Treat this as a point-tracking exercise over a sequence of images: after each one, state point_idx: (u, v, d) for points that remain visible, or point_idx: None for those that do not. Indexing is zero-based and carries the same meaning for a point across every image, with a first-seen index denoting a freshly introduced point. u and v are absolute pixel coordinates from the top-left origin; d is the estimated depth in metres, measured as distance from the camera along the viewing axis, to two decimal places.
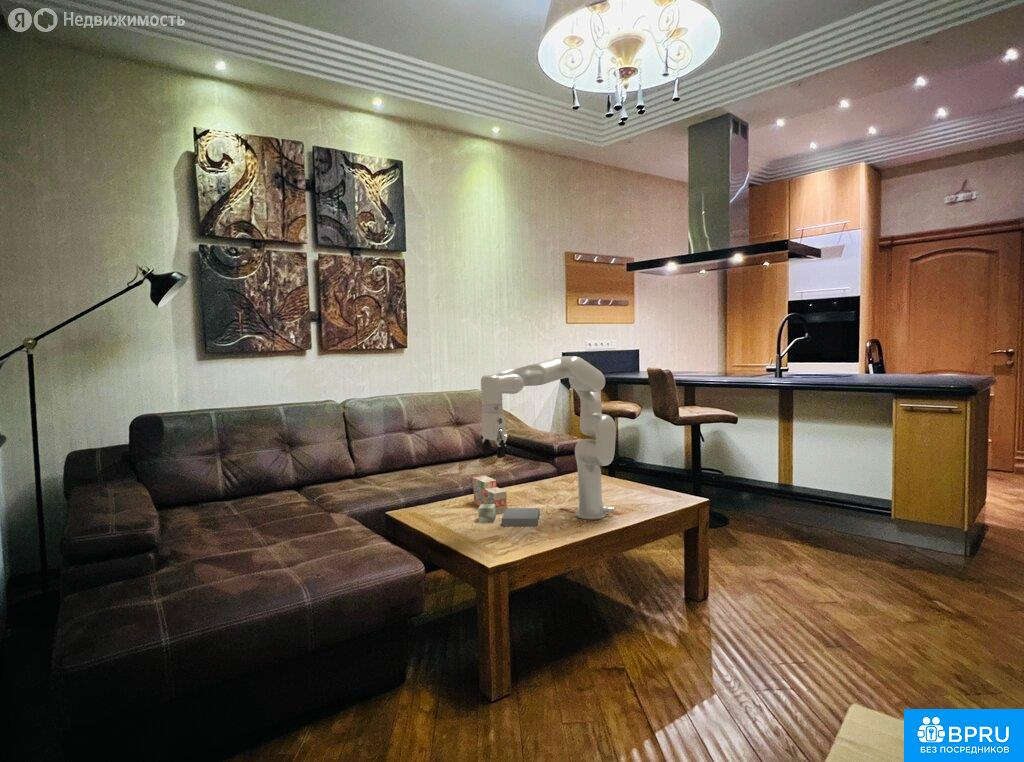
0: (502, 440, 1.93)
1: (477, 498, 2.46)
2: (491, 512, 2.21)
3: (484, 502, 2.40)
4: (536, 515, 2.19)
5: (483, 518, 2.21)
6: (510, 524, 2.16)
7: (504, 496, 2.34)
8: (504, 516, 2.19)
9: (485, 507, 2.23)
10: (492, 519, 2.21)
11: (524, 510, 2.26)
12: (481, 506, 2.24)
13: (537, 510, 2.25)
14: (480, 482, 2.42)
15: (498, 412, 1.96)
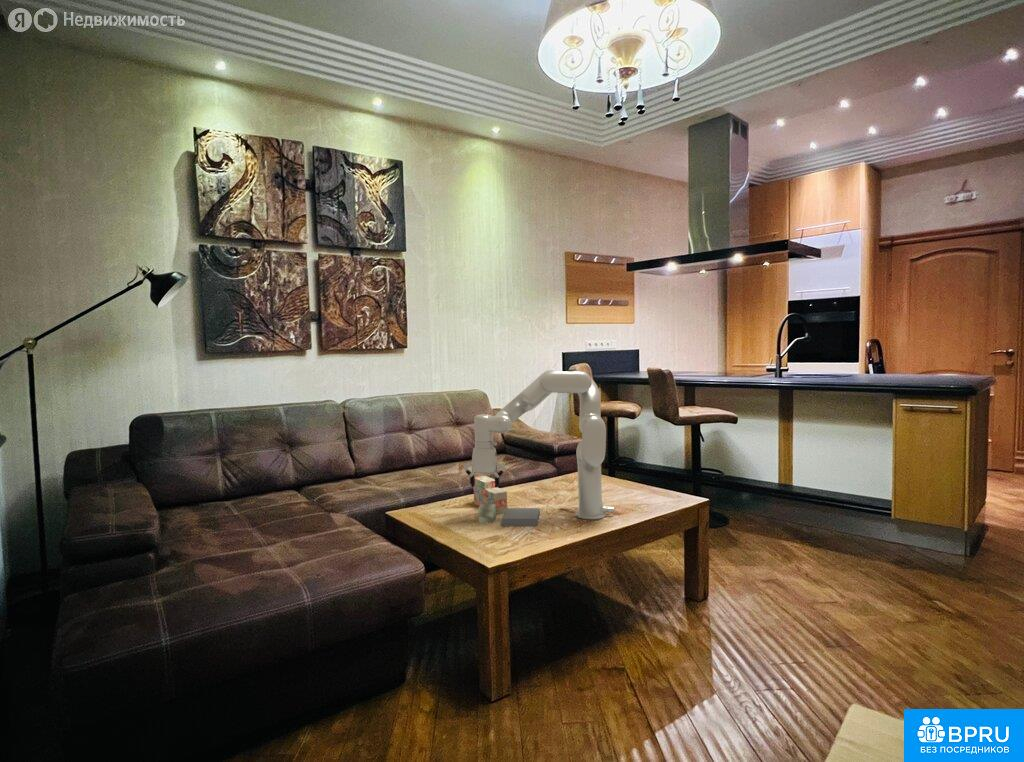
0: (502, 471, 2.21)
1: (477, 498, 2.46)
2: (491, 512, 2.21)
3: (484, 502, 2.40)
4: (536, 515, 2.19)
5: (483, 518, 2.21)
6: (510, 524, 2.16)
7: (504, 496, 2.33)
8: (504, 516, 2.19)
9: (485, 507, 2.23)
10: (492, 519, 2.21)
11: (524, 510, 2.26)
12: (481, 506, 2.24)
13: (537, 510, 2.25)
14: (480, 482, 2.42)
15: (493, 447, 2.22)
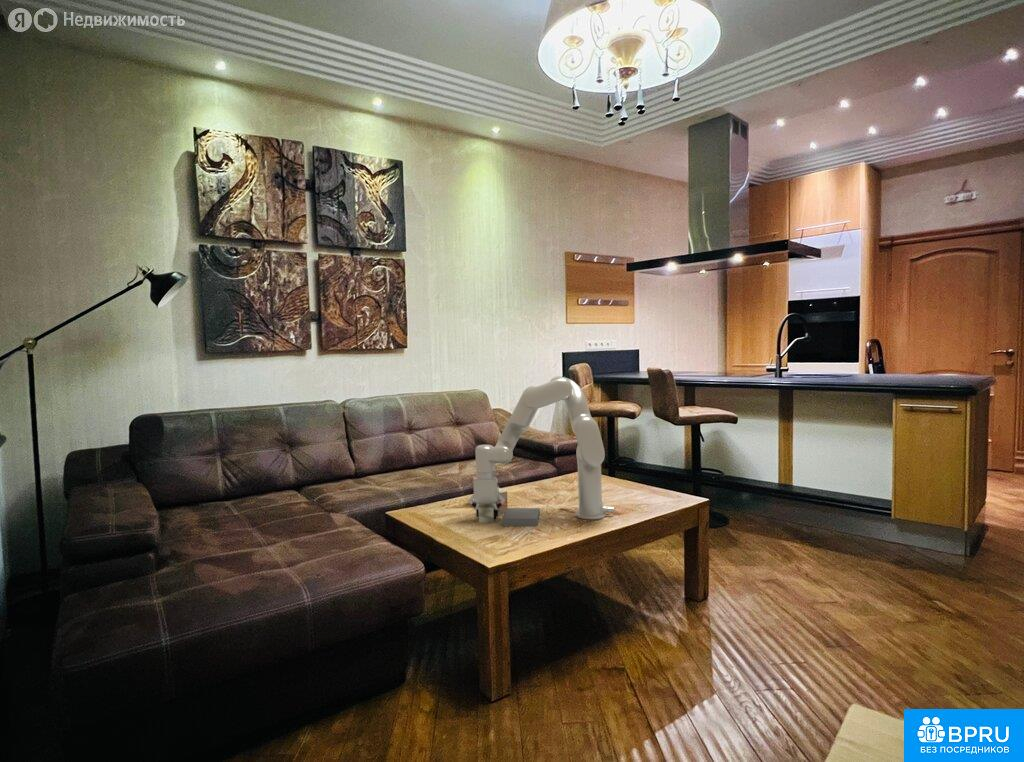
0: (500, 503, 2.22)
1: None
2: (491, 512, 2.21)
3: None
4: (536, 515, 2.19)
5: (483, 518, 2.21)
6: (510, 524, 2.16)
7: (505, 496, 2.33)
8: (504, 516, 2.19)
9: (485, 507, 2.23)
10: (492, 519, 2.21)
11: (524, 510, 2.26)
12: (481, 506, 2.24)
13: (537, 510, 2.25)
14: None
15: (494, 477, 2.23)
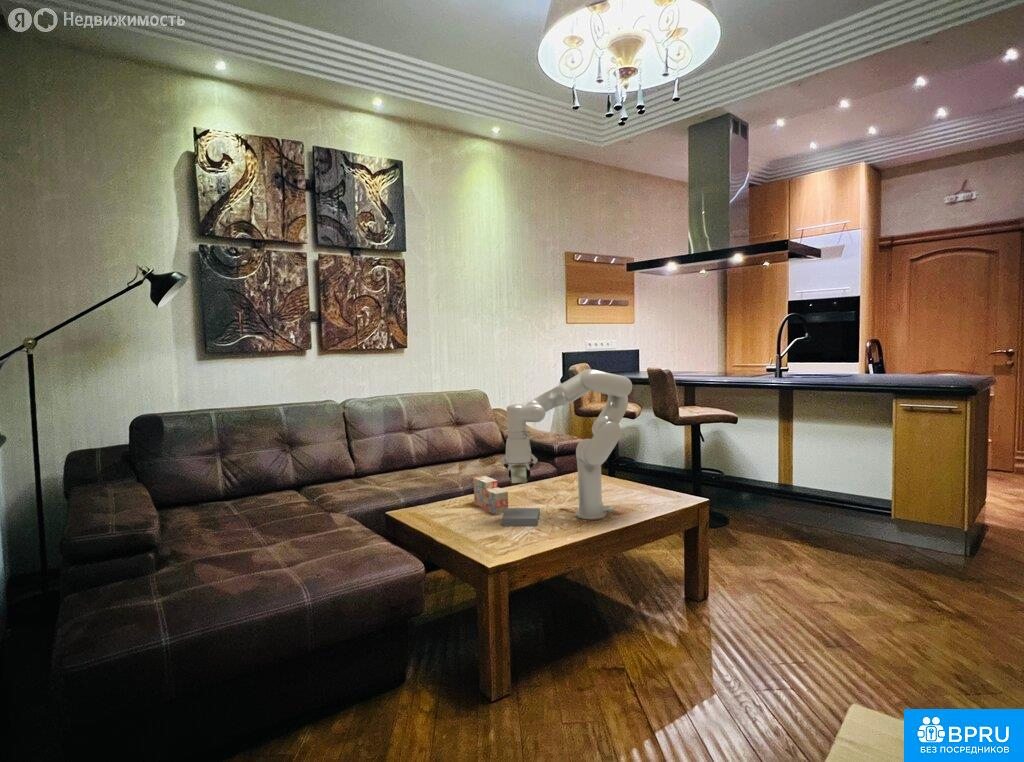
0: (533, 463, 2.20)
1: (478, 498, 2.45)
2: (524, 472, 2.18)
3: (485, 502, 2.39)
4: (536, 515, 2.19)
5: (516, 478, 2.19)
6: (510, 524, 2.16)
7: (506, 496, 2.33)
8: (504, 516, 2.19)
9: (517, 467, 2.20)
10: (525, 479, 2.18)
11: (524, 510, 2.26)
12: (513, 466, 2.21)
13: (537, 510, 2.25)
14: (481, 482, 2.42)
15: (526, 437, 2.20)
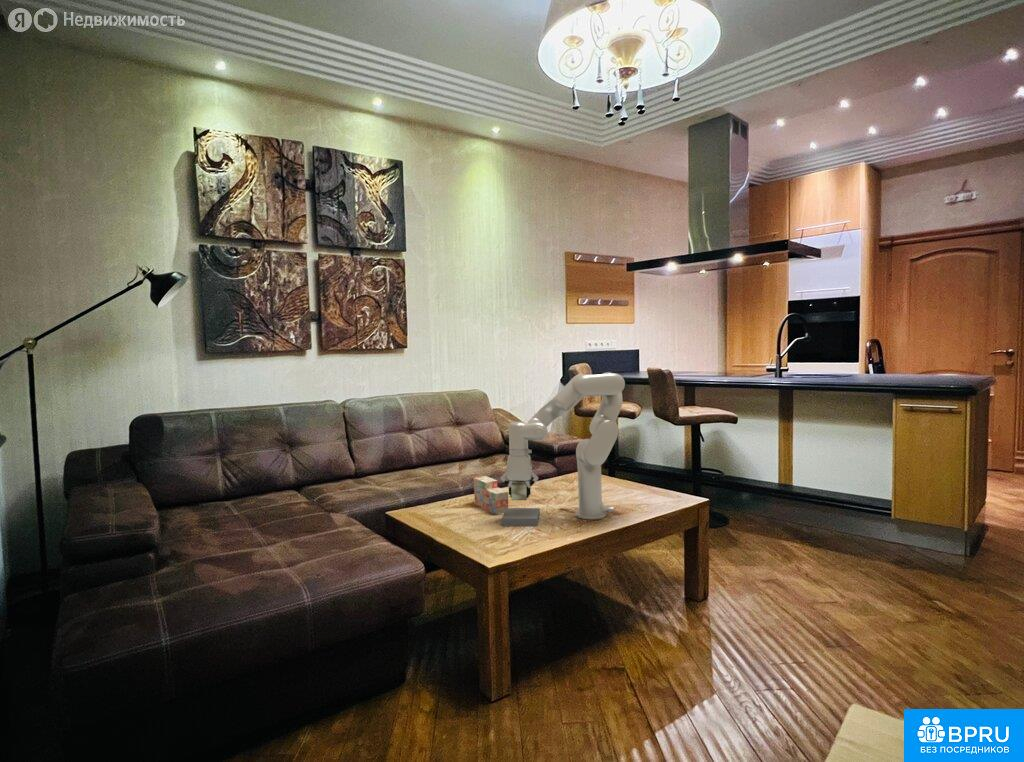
0: (533, 481, 2.20)
1: (478, 499, 2.45)
2: (524, 489, 2.18)
3: (485, 502, 2.39)
4: (536, 515, 2.19)
5: (516, 496, 2.19)
6: (510, 524, 2.16)
7: (506, 496, 2.33)
8: (504, 516, 2.19)
9: (518, 484, 2.20)
10: (525, 496, 2.19)
11: (524, 510, 2.26)
12: (513, 483, 2.22)
13: (537, 510, 2.25)
14: (481, 482, 2.42)
15: (528, 455, 2.21)
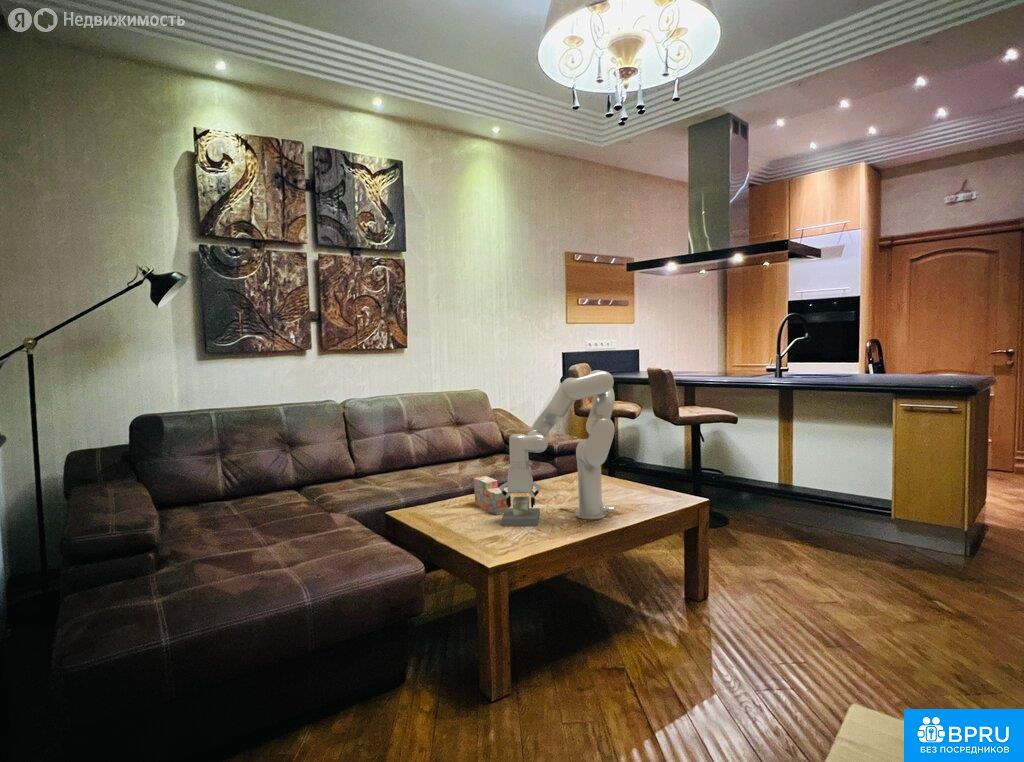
0: (537, 491, 2.20)
1: (478, 499, 2.45)
2: (525, 504, 2.19)
3: (486, 503, 2.39)
4: (536, 515, 2.19)
5: (518, 511, 2.19)
6: (510, 524, 2.16)
7: None
8: (504, 516, 2.19)
9: (519, 499, 2.21)
10: (526, 511, 2.19)
11: None
12: (515, 498, 2.22)
13: (537, 510, 2.25)
14: (481, 482, 2.41)
15: (528, 467, 2.21)
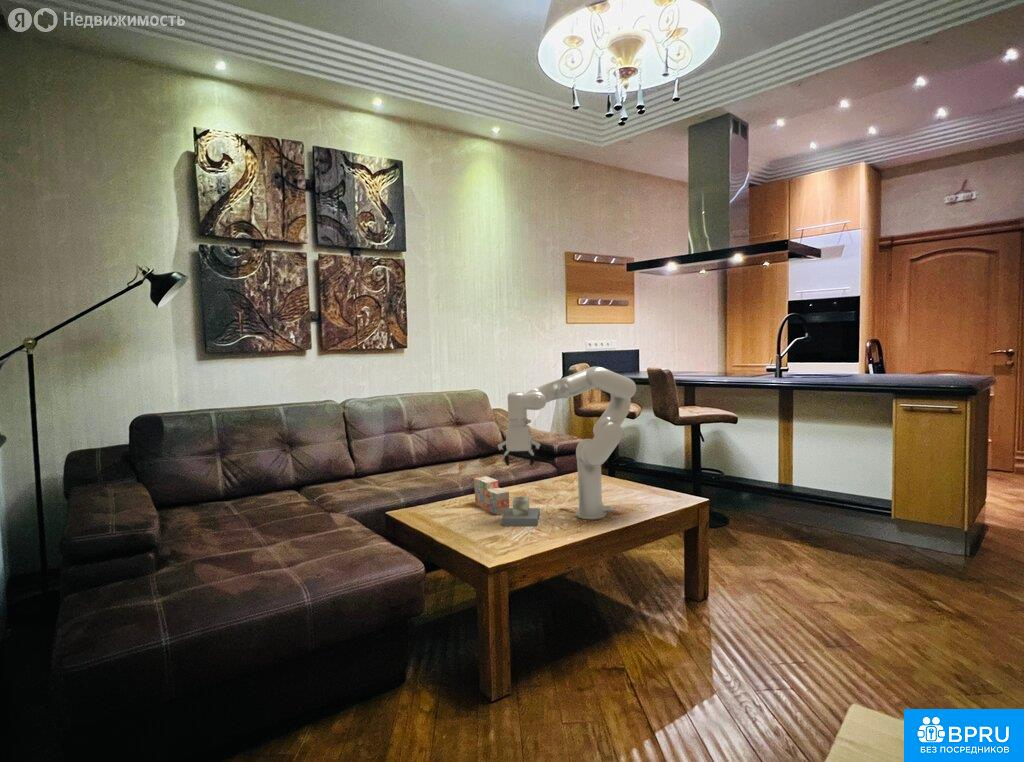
0: (537, 448, 2.19)
1: (478, 499, 2.45)
2: (525, 504, 2.19)
3: (486, 503, 2.39)
4: (536, 515, 2.19)
5: (518, 511, 2.19)
6: (510, 524, 2.16)
7: (507, 496, 2.33)
8: (504, 516, 2.19)
9: (519, 499, 2.21)
10: (526, 511, 2.19)
11: None
12: (515, 498, 2.22)
13: (537, 510, 2.25)
14: (482, 483, 2.41)
15: (527, 425, 2.20)
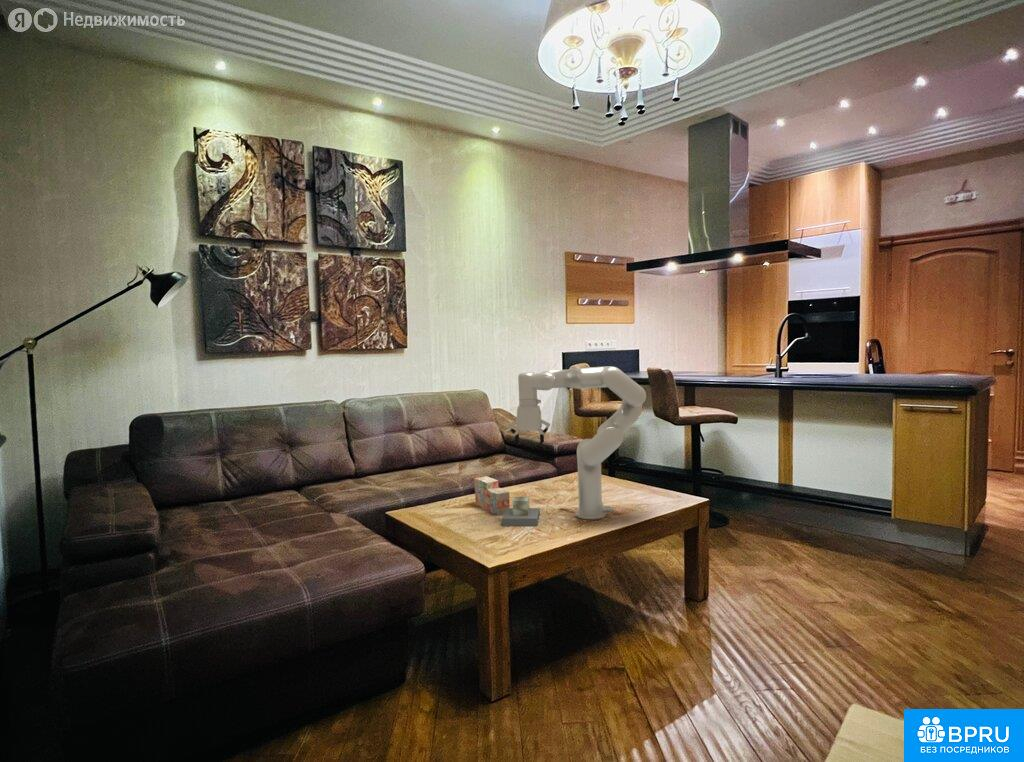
0: (547, 428, 2.23)
1: (479, 499, 2.45)
2: (525, 504, 2.19)
3: (486, 503, 2.39)
4: (536, 515, 2.19)
5: (518, 511, 2.19)
6: (510, 524, 2.16)
7: (507, 497, 2.33)
8: (504, 516, 2.19)
9: (519, 499, 2.21)
10: (526, 511, 2.19)
11: None
12: (515, 498, 2.22)
13: (537, 510, 2.25)
14: (482, 483, 2.41)
15: (537, 405, 2.24)
